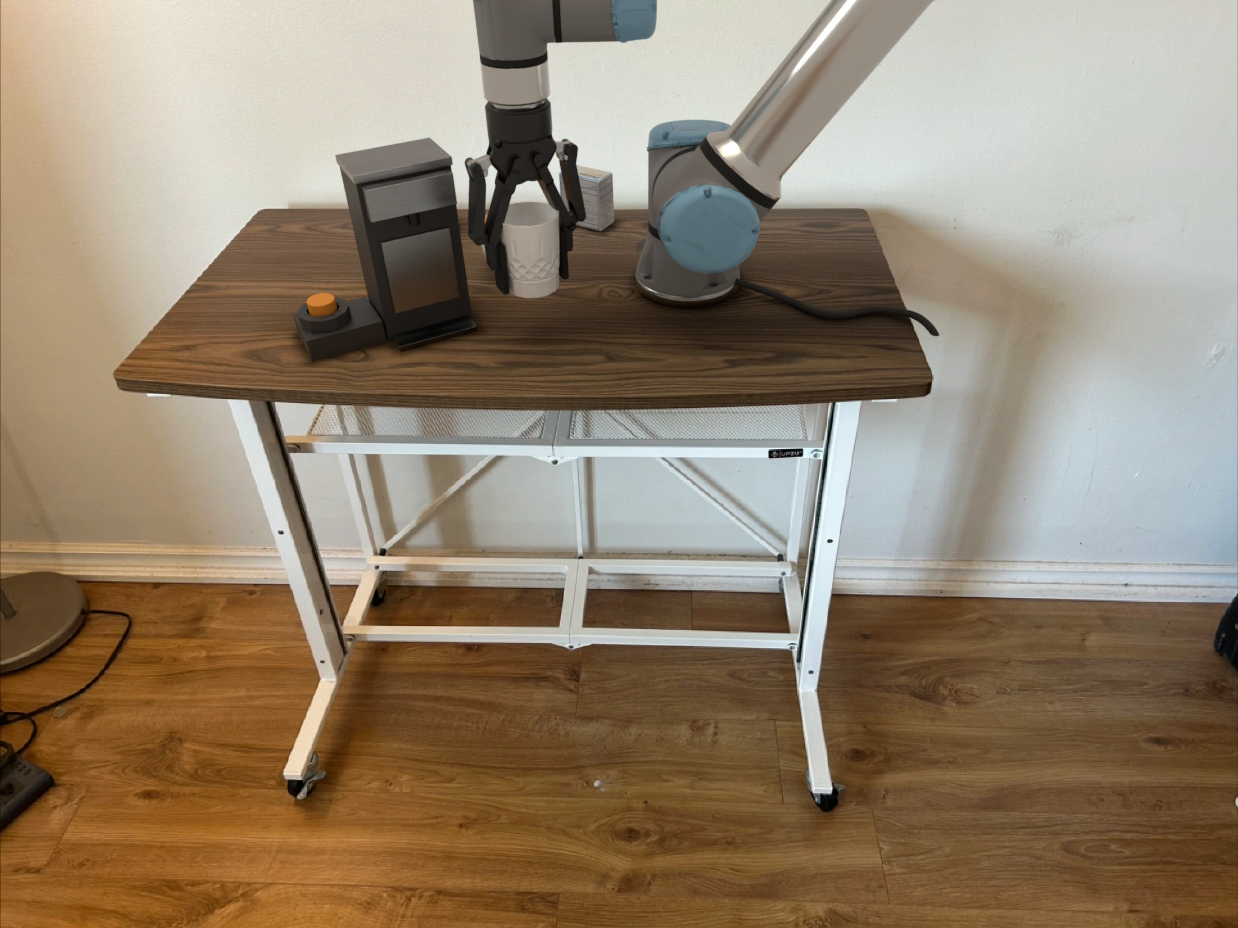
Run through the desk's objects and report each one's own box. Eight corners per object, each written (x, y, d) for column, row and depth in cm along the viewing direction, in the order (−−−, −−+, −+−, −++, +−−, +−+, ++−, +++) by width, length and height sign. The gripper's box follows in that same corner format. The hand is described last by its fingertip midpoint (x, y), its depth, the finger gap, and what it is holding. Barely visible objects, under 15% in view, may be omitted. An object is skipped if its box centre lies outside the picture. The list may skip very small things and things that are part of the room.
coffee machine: (370, 315, 126) (334, 154, 111) (453, 294, 130) (429, 137, 116) (395, 353, 117) (360, 185, 103) (482, 329, 122) (461, 164, 108)
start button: (333, 302, 119) (330, 290, 118) (340, 313, 117) (337, 301, 116) (306, 308, 118) (303, 296, 117) (313, 320, 115) (310, 308, 114)
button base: (370, 316, 125) (363, 284, 122) (386, 342, 120) (379, 308, 117) (298, 334, 122) (289, 302, 119) (312, 362, 116) (303, 328, 113)
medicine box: (615, 222, 149) (613, 171, 143) (600, 232, 146) (598, 181, 140) (576, 213, 152) (573, 163, 147) (561, 222, 149) (557, 172, 144)
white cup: (554, 303, 112) (549, 228, 106) (494, 298, 113) (486, 224, 107) (569, 275, 118) (565, 202, 112) (512, 270, 119) (505, 198, 113)
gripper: (583, 78, 107) (590, 253, 121) (420, 105, 100) (447, 289, 114) (612, 94, 102) (616, 275, 116) (442, 124, 95) (468, 314, 109)
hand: (532, 282), depth 115 cm, fingers closed on white cup, 8 cm apart
